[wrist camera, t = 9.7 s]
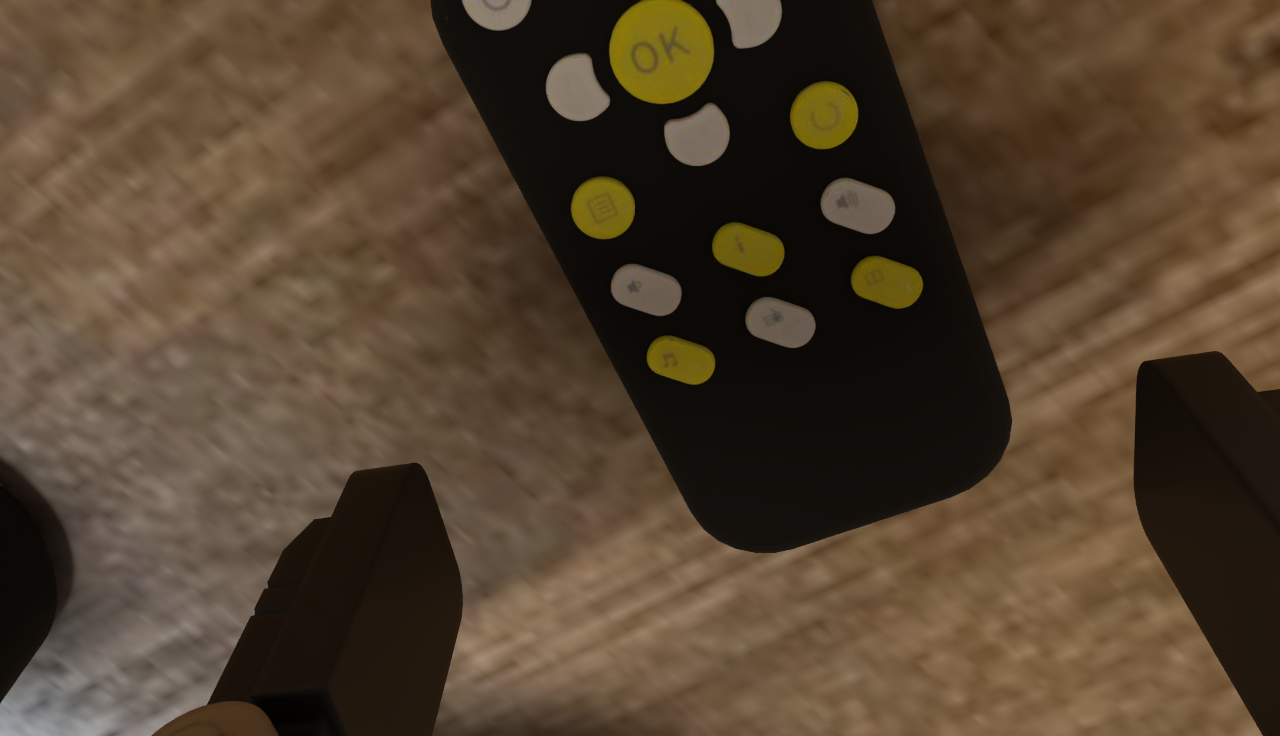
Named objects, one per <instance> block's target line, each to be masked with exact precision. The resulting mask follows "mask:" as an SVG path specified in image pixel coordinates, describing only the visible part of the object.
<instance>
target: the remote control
mask: <svg viewBox="0 0 1280 736" xmlns="http://www.w3.org/2000/svg"><path fill="white" fill-rule="evenodd" d="M431 8H432V16H433V20H434V23H435V25H436V28H437V30H438V33H439V36H440V38H441V41H442V43H443V45H444V47H445V49H446V51H447V53H448V55H449V57H450V59H451V60H452V62H453V64H454V66H455V68H456V70H457V72H458V74H459V76H460V77H461V79H462V81H463V83H464V85H465V87H466V89H467V91H468V93H469V94H470V96H471V98H472V100H473V102H474V104H475V106H476V108H477V110H478V111H479V113H480V115H481V117H482V119H483V121H484V123H485V125H486V127H487V128H488V130H489V132H490V134H491V136H492V138H493V140H494V142H495V143H496V145H497V147H498V149H499V151H500V153H501V155H502V157H503V159H504V160H505V162H506V164H507V166H508V168H509V170H510V172H511V174H512V176H513V177H514V179H515V181H516V183H517V185H518V187H519V189H520V191H521V193H522V194H523V196H524V198H525V200H526V202H527V204H528V206H529V208H530V210H531V211H532V213H533V215H534V217H535V219H536V221H537V223H538V225H539V226H540V228H541V230H542V232H543V234H544V236H545V238H546V240H547V242H548V243H549V245H550V247H551V249H552V251H553V253H554V255H555V257H556V259H557V260H558V262H559V264H560V266H561V268H562V270H563V272H564V274H565V276H566V277H567V279H568V281H569V283H570V285H571V287H572V289H573V291H574V292H575V294H576V296H577V298H578V300H579V302H580V304H581V306H582V308H583V309H584V311H585V313H586V315H587V317H588V319H589V321H590V323H591V325H592V326H593V328H594V330H595V332H596V334H597V336H598V338H599V340H600V342H601V343H602V345H603V347H604V349H605V351H606V353H607V355H608V357H609V359H610V360H611V362H612V364H613V366H614V368H615V370H616V372H617V374H618V375H619V377H620V379H621V381H622V383H623V385H624V387H625V389H626V391H627V392H628V394H629V396H630V398H631V400H632V402H633V404H634V406H635V408H636V409H637V411H638V413H639V415H640V417H641V419H642V421H643V423H644V425H645V426H646V428H647V430H648V432H649V434H650V436H651V438H652V440H653V442H654V443H655V445H656V447H657V449H658V451H659V453H660V455H661V457H662V458H663V460H664V462H665V464H666V466H667V468H668V470H669V472H670V474H671V475H672V477H673V479H674V481H675V483H676V485H677V487H678V489H679V491H680V492H681V494H682V496H683V498H684V500H685V502H686V504H687V506H688V508H689V509H690V511H691V513H692V514H693V516H694V517H695V518H696V520H697V521H698V522H699V524H700V525H701V526H702V528H703V529H704V530H705V531H706V532H708V533H709V534H710V535H712V536H713V537H714V538H715V539H717V540H718V541H720V542H722V543H724V544H726V545H729V546H731V547H733V548H735V549H740V550H744V551H749V552H754V553H776V552H781V551H785V550H790V549H794V548H797V547H800V546H803V545H806V544H810V543H813V542H816V541H819V540H822V539H825V538H828V537H831V536H834V535H837V534H840V533H843V532H846V531H849V530H852V529H855V528H858V527H861V526H865V525H868V524H871V523H874V522H877V521H880V520H883V519H886V518H889V517H892V516H895V515H898V514H901V513H904V512H907V511H910V510H913V509H916V508H919V507H923V506H926V505H929V504H932V503H935V502H938V501H941V500H944V499H947V498H950V497H952V496H955V495H957V494H959V493H961V492H964V491H966V490H968V489H970V488H972V487H973V486H974V485H976V484H977V483H978V482H980V481H981V480H983V479H984V478H985V477H987V476H988V474H989V473H990V472H991V471H992V470H993V469H994V467H995V466H996V465H997V464H998V463H999V462H1000V460H1001V458H1002V455H1003V453H1004V451H1005V449H1006V447H1007V445H1008V442H1009V438H1010V432H1011V425H1012V417H1011V412H1010V406H1009V400H1008V396H1007V394H1006V391H1005V388H1004V385H1003V382H1002V379H1001V376H1000V373H999V370H998V367H997V364H996V361H995V359H994V356H993V353H992V350H991V347H990V344H989V341H988V338H987V335H986V332H985V329H984V326H983V324H982V321H981V318H980V315H979V312H978V309H977V306H976V303H975V300H974V297H973V294H972V291H971V289H970V286H969V283H968V280H967V277H966V274H965V271H964V268H963V265H962V262H961V259H960V256H959V254H958V251H957V248H956V245H955V242H954V239H953V236H952V233H951V230H950V227H949V224H948V221H947V219H946V216H945V213H944V210H943V207H942V204H941V201H940V198H939V195H938V192H937V189H936V186H935V184H934V181H933V178H932V175H931V172H930V169H929V166H928V163H927V160H926V157H925V154H924V151H923V149H922V146H921V143H920V140H919V137H918V134H917V131H916V128H915V125H914V122H913V119H912V116H911V114H910V111H909V108H908V105H907V102H906V99H905V96H904V93H903V90H902V87H901V84H900V81H899V79H898V76H897V73H896V70H895V67H894V64H893V61H892V58H891V55H890V52H889V49H888V46H887V44H886V41H885V38H884V35H883V32H882V29H881V26H880V23H879V20H878V17H877V14H876V11H875V9H874V6H873V3H872V0H431Z"/></svg>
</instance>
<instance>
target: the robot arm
mask: <svg viewBox="0 0 1280 736" xmlns="http://www.w3.org/2000/svg"><path fill="white" fill-rule="evenodd" d="M1134 492H1135V499H1136V505H1137V509H1138V514H1139V517H1140V520H1141V523H1142V526H1143V529H1144V531H1145V534H1146V536H1147V538H1148V539H1149V541H1150V543H1151V545H1152V546H1153V548H1154V550H1155V551H1156V553H1157V555H1158V557H1159V558H1160V560H1161V562H1162V563H1163V565H1164V567H1165V569H1166V570H1167V572H1168V574H1169V575H1170V577H1171V579H1172V581H1173V582H1174V584H1175V586H1176V587H1177V589H1178V591H1179V593H1180V594H1181V596H1182V598H1183V599H1184V601H1185V603H1186V605H1187V606H1188V608H1189V610H1190V611H1191V613H1192V615H1193V617H1194V618H1195V620H1196V622H1197V623H1198V625H1199V627H1200V629H1201V630H1202V632H1203V634H1204V635H1205V637H1206V639H1207V641H1208V642H1209V644H1210V646H1211V647H1212V649H1213V651H1214V653H1215V654H1216V656H1217V658H1218V659H1219V661H1220V663H1221V665H1222V666H1223V668H1224V670H1225V671H1226V673H1227V675H1228V677H1229V678H1230V680H1231V682H1232V683H1233V685H1234V687H1235V689H1236V690H1237V692H1238V694H1239V695H1240V697H1241V699H1242V701H1243V702H1244V704H1245V706H1246V707H1247V709H1248V711H1249V713H1250V714H1251V716H1252V718H1253V719H1254V721H1255V723H1256V725H1257V726H1258V728H1259V730H1260V731H1261V733H1262V735H1263V736H1280V389H1278V390H1270V391H1263V392H1256V390H1255V389H1254V388H1253V387H1252V386H1251V385H1250V384H1249V383H1248V381H1247V380H1246V379H1245V378H1244V377H1243V376H1242V375H1241V373H1240V372H1239V371H1238V370H1237V369H1236V368H1235V367H1234V366H1233V364H1232V363H1231V362H1230V361H1229V360H1228V359H1227V358H1226V357H1225V356H1224V355H1223V354H1222V353H1220V352H1218V351H1212V352H1205V353H1198V354H1191V355H1184V356H1177V357H1170V358H1163V359H1156V360H1149V361H1144V362H1143V363H1142V364H1141V365H1140V367H1139V370H1138V374H1137V384H1136V416H1135V449H1134ZM267 583H268V588H267V589H264V591H263V593H262V595H261V597H260V599H259V601H258V603H257V605H256V607H255V609H254V610H255V615H254V616H251V617H250V619H249V621H248V623H247V625H246V627H245V629H244V631H243V633H242V635H241V637H240V639H239V641H238V643H237V645H236V647H235V649H234V651H233V653H232V655H231V657H230V659H229V661H228V663H227V665H226V667H225V669H224V671H223V673H222V675H221V677H220V680H219V682H218V684H217V686H216V688H215V690H214V692H213V694H212V696H211V698H210V700H209V702H208V704H207V705H205V706H202V707H199V708H197V709H194V710H192V711H189V712H187V713H185V714H183V715H181V716H179V717H177V718H175V719H174V720H172V721H171V722H169V723H167V724H166V725H164V726H163V727H162V728H160V729H159V730H158V731H156V732H155V733H154V734H153V735H152V736H432V733H433V729H434V725H435V721H436V718H437V714H438V710H439V706H440V702H441V698H442V694H443V690H444V686H445V682H446V678H447V674H448V670H449V666H450V662H451V658H452V654H453V650H454V646H455V642H456V638H457V634H458V630H459V627H460V623H461V618H462V608H463V594H462V583H461V577H460V572H459V568H458V564H457V561H456V558H455V555H454V552H453V549H452V547H451V544H450V541H449V538H448V535H447V532H446V529H445V526H444V523H443V520H442V517H441V514H440V511H439V508H438V505H437V502H436V499H435V496H434V493H433V491H432V488H431V485H430V482H429V479H428V476H427V474H426V472H425V470H424V469H423V467H422V466H421V465H420V464H418V463H409V464H402V465H395V466H388V467H381V468H374V469H367V470H360V471H355V472H353V473H352V474H351V475H350V477H349V479H348V481H347V483H346V485H345V488H344V490H343V492H342V494H341V496H340V499H339V501H338V503H337V505H336V507H335V510H334V512H333V514H332V516H331V517H329V518H321V519H314V520H313V521H312V522H311V523H310V524H309V525H308V526H307V527H306V528H305V529H304V530H303V531H302V532H301V533H300V534H299V535H298V536H297V537H296V538H295V539H294V540H293V541H292V542H291V543H290V544H289V545H288V546H287V547H286V548H285V549H284V550H283V552H282V554H281V556H280V558H279V560H278V562H277V564H276V566H275V568H274V570H273V572H272V574H271V576H270V578H269V580H268V582H267Z"/></svg>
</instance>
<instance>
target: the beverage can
mask: <svg viewBox="0 0 1280 736" xmlns="http://www.w3.org/2000/svg"><path fill="white" fill-rule="evenodd" d="M56 604H57V589H56V579H55V576H54V572H53V568H52V565H51V562H50V560H49V557H48V554H47V552H46V549H45V545H44V542H43V540H42V537H41V535H40V533H39V531H38V529H37V527H36V525H35V524H34V522H33V520H32V519H31V517H30V515H29V514H28V513H27V511H26V510H25V509H24V507H23V506H22V505H21V504H20V502H19V501H18V500H17V499H16V498H15V497H14V496H13V495H12V494H11V493H10V492H9V491H8V490H7V489H6V488H5V487H4V486H3V485H2V484H0V703H1V702H2V700H3V699H4V697H5V696H6V694H7V693H8V692H9V690H10V689H11V687H12V686H13V684H14V683H15V682H16V680H17V679H18V677H19V676H20V674H21V673H22V672H23V670H24V669H25V667H26V666H27V665H28V663H29V662H30V660H31V659H32V657H33V656H34V655H35V653H36V652H37V650H38V649H39V647H40V646H41V645H42V643H43V642H44V640H45V639H46V637H47V635H48V633H49V631H50V629H51V626H52V623H53V620H54V616H55V612H56Z"/></svg>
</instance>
